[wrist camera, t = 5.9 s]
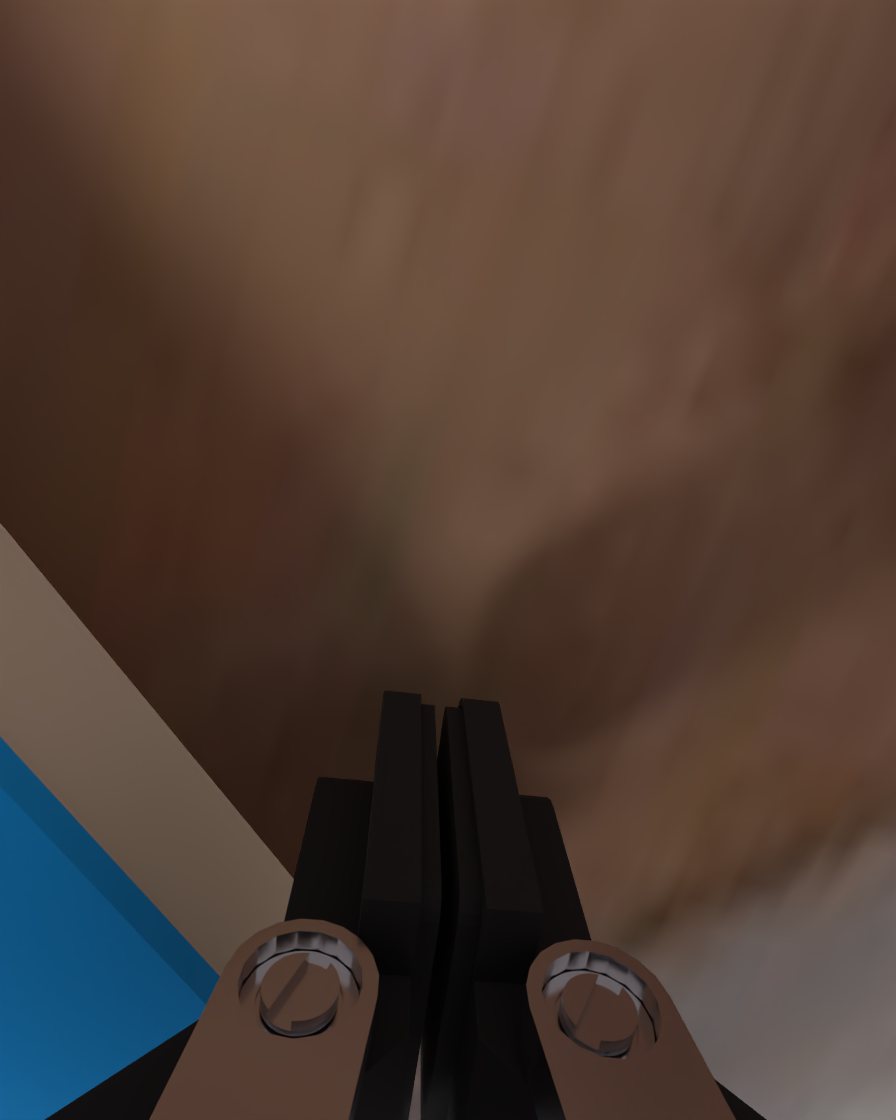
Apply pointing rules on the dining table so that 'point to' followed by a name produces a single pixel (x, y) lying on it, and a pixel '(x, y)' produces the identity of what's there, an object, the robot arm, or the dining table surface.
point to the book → (103, 861)
